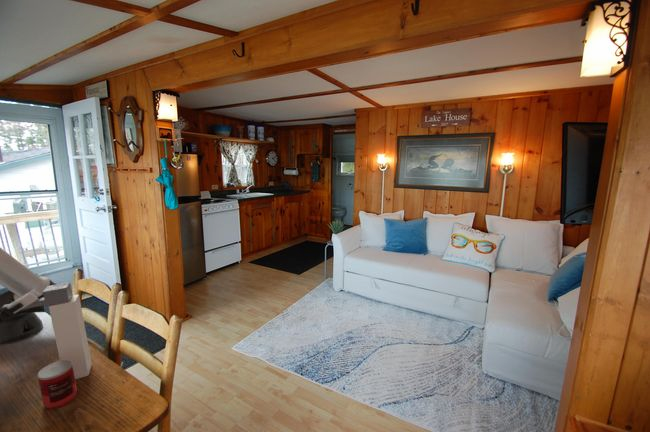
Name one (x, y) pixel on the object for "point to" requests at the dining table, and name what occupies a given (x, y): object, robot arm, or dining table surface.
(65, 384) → the canned food
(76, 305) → the stand
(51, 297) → the steel bar
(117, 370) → the dining table surface
